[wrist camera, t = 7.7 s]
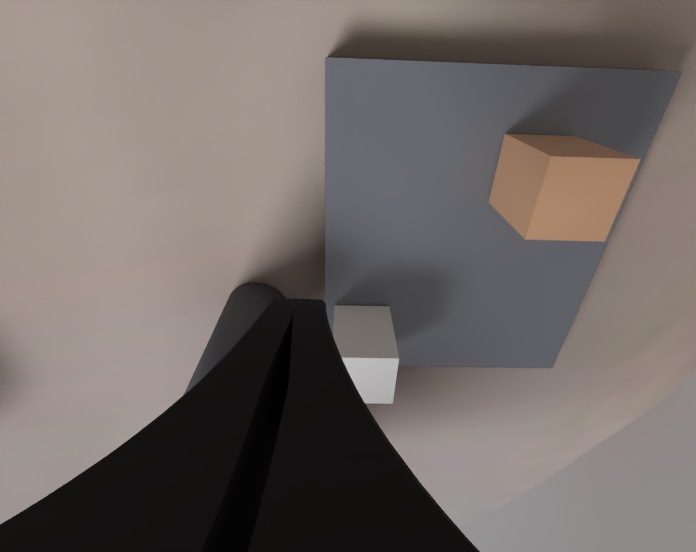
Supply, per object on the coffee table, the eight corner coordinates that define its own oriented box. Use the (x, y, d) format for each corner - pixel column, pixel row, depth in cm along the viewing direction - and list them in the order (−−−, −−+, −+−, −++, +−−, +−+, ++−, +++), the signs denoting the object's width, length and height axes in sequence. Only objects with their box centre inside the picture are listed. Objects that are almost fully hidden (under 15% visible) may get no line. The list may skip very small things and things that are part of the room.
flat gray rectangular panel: (540, 351, 24) (552, 368, 23) (325, 347, 24) (324, 364, 22) (654, 70, 16) (682, 71, 14) (326, 57, 15) (325, 57, 14)
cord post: (290, 332, 23) (268, 451, 16) (231, 331, 23) (184, 450, 16) (287, 283, 21) (261, 393, 14) (223, 281, 21) (166, 392, 14)
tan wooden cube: (552, 204, 17) (604, 241, 14) (488, 202, 17) (525, 239, 14) (574, 136, 16) (640, 159, 12) (504, 133, 15) (551, 156, 12)
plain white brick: (384, 348, 22) (392, 403, 18) (333, 347, 21) (331, 403, 18) (389, 306, 20) (399, 358, 17) (333, 305, 20) (332, 357, 16)
